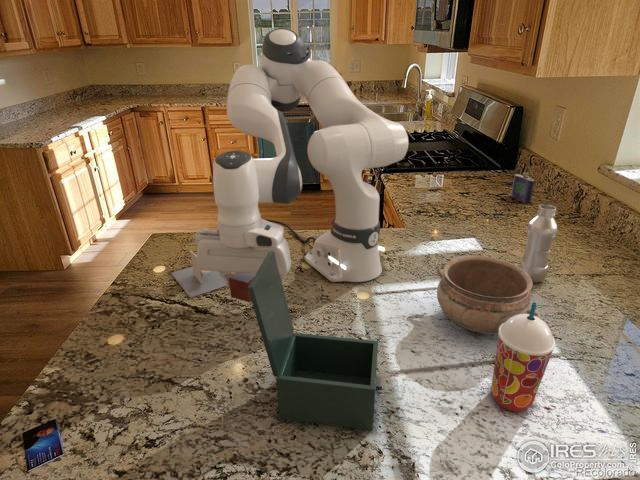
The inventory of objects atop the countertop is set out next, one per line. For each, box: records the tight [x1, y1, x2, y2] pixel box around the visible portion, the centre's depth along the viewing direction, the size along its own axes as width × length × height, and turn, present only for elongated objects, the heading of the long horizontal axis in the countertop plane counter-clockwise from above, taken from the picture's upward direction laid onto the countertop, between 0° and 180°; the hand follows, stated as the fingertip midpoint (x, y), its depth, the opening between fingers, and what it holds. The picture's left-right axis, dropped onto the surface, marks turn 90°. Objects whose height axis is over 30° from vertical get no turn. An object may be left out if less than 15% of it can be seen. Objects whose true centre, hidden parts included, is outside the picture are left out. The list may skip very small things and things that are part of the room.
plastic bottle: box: [518, 204, 558, 283], centre depth 106 cm, size 6×7×20 cm
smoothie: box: [490, 301, 556, 413], centre depth 70 cm, size 8×8×20 cm
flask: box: [509, 172, 535, 205], centre depth 160 cm, size 9×3×11 cm, turn 21°
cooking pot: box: [436, 255, 542, 335], centre depth 91 cm, size 25×19×12 cm
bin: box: [275, 332, 379, 431], centre depth 73 cm, size 16×12×9 cm
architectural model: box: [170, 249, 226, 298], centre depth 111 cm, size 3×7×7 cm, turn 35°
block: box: [229, 272, 256, 303], centre depth 94 cm, size 5×5×5 cm
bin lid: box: [248, 251, 295, 377], centre depth 69 cm, size 16×12×1 cm
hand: (246, 287), depth 94 cm, fingers closed on block, 6 cm apart
